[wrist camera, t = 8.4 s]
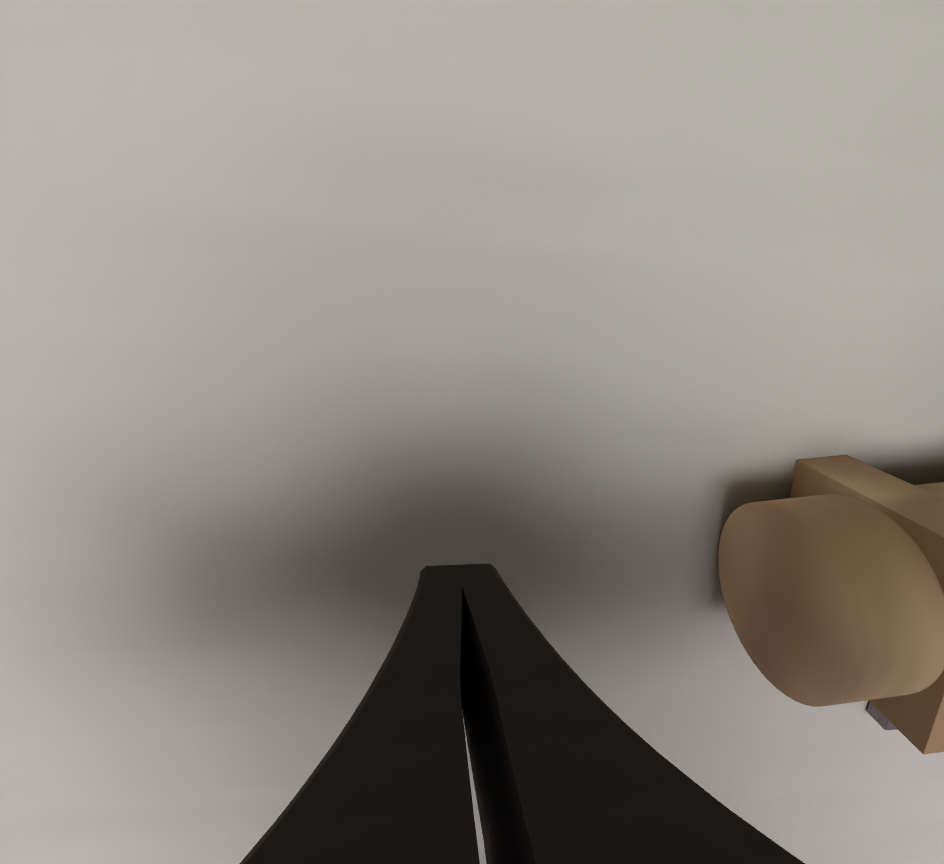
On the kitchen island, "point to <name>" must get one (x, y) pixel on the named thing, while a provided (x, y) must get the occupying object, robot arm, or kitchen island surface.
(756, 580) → the light wooden rod
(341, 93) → the kitchen island surface
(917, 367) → the kitchen island surface
